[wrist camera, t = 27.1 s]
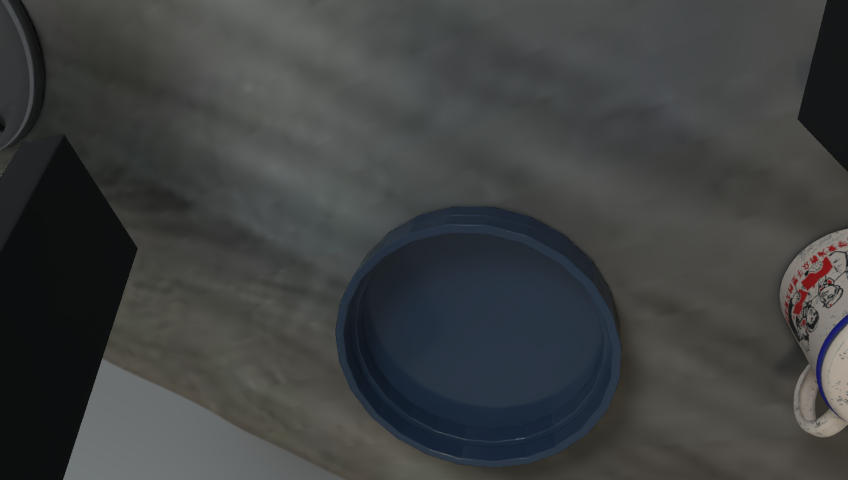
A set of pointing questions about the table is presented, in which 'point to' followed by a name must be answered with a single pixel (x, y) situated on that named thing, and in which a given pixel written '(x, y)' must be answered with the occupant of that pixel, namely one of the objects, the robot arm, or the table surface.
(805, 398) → the teacup with lid
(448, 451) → the bowl
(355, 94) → the table surface
